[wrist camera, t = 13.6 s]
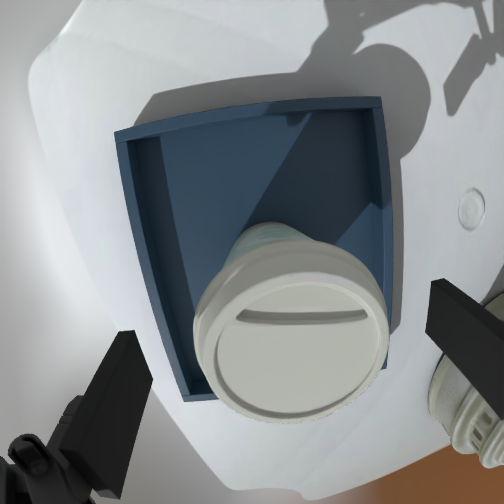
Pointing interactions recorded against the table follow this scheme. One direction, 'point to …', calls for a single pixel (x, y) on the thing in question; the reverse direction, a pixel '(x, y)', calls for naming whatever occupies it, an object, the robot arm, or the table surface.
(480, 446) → the dome
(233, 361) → the coffee cup
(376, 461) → the table surface
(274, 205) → the tray
